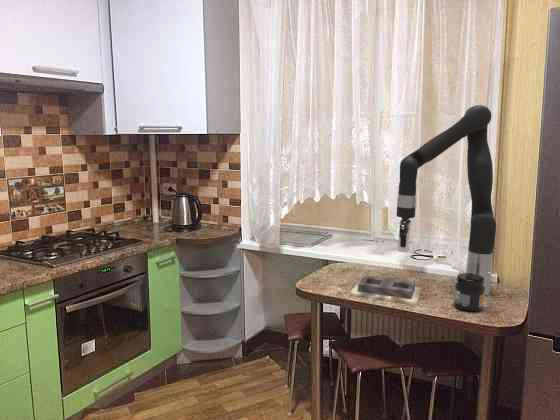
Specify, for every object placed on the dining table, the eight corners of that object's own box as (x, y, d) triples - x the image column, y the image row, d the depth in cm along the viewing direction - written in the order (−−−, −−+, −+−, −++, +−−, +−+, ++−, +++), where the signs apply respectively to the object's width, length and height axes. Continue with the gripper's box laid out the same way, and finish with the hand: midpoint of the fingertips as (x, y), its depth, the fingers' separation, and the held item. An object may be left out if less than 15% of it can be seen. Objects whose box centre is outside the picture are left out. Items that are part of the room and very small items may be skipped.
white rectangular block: (408, 250, 204) (410, 229, 202) (407, 252, 200) (408, 231, 198) (399, 249, 205) (400, 228, 203) (397, 251, 201) (399, 230, 200)
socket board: (421, 290, 199) (422, 280, 198) (417, 305, 182) (417, 295, 182) (359, 281, 208) (360, 272, 208) (349, 295, 192) (350, 285, 191)
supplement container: (487, 307, 182) (490, 276, 180) (477, 315, 174) (480, 283, 172) (459, 300, 189) (462, 270, 186) (448, 307, 181) (451, 276, 179)
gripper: (413, 209, 191) (410, 250, 194) (417, 203, 204) (415, 242, 207) (394, 207, 194) (391, 248, 197) (399, 202, 207) (397, 241, 210)
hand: (403, 245), depth 202 cm, fingers closed on white rectangular block, 4 cm apart
